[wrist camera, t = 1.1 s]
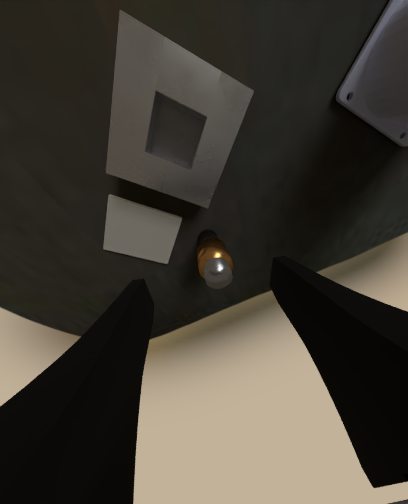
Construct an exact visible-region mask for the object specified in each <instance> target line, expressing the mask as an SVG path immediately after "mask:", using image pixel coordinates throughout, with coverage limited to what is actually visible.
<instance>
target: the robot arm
mask: <svg viewBox="0 0 408 504" xmlns="http://www.w3.org/2000/svg"><path fill="white" fill-rule="evenodd" d="M348 94H349V98H348V100H347V95H348ZM336 101H337V102H338V103H340V104H341V105H343V106H344V107H345V108H347V109H348V110H350V111H351V112H353V113H354V114H355V115H357V116H358V117H360V118H361V119H363V120H364V121H365V122H367V123H368V124H370V125H371V126H373V127H374V128H375V129H377V130H378V131H380V132H381V133H383V134H384V135H385V136H387V137H388V138H390V139H391V140H393V141H394V142H395V143H397V144H398V145H400V146H402V147H406V146H408V0H390V1H389V3H388V4H387V6H386V8H385V10H384V11H383V13H382V15H381V17H380V18H379V20H378V22H377V24H376V25H375V27H374V29H373V31H372V32H371V34H370V36H369V37H368V39H367V41H366V43H365V44H364V46H363V48H362V50H361V51H360V53H359V55H358V57H357V58H356V60H355V62H354V64H353V65H352V67H351V69H350V70H349V72H348V74H347V76H346V77H345V79H344V81H343V83H342V84H341V86H340V88H339V90H338V91H337V94H336ZM400 135H401V136H400ZM270 287H271V289H272V291H273V293H274V295H275V297H276V299H277V301H278V303H279V305H280V306H281V308H282V309H283V311H284V312H285V314H286V316H287V317H288V319H289V320H290V322H291V323H292V325H293V327H294V328H295V329H296V331H297V332H298V334H299V336H300V337H301V339H302V341H303V343H304V344H305V346H306V348H307V350H308V352H309V353H310V355H311V357H312V359H313V361H314V363H315V365H316V367H317V369H318V371H319V373H320V375H321V377H322V379H323V381H324V383H325V385H326V387H327V389H328V391H329V394H330V396H331V398H332V400H333V402H334V404H335V407H336V409H337V411H338V413H339V415H340V417H341V420H342V422H343V424H344V426H345V429H346V431H347V433H348V436H349V438H350V440H351V442H352V445H353V447H354V450H355V452H356V454H357V457H358V459H359V462H360V464H361V467H362V468H363V470H364V472H365V474H366V476H367V477H368V479H369V481H370V483H371V485H372V486H373V487H374V488H377V487H382V486H387V485H392V484H397V483H402V482H407V481H408V312H407V311H404V310H401V309H399V308H396V307H393V306H390V305H388V304H385V303H382V302H380V301H377V300H375V299H372V298H370V297H367V296H365V295H363V294H360V293H358V292H356V291H353V290H351V289H349V288H347V287H344V286H342V285H340V284H338V283H336V282H334V281H332V280H330V279H328V278H326V277H324V276H322V275H320V274H318V273H316V272H314V271H312V270H310V269H308V268H306V267H305V266H303V265H301V264H299V263H297V262H295V261H293V260H291V259H289V258H287V257H285V256H281V257H275V258H273V264H272V271H271V279H270ZM153 314H154V303H153V300H152V298H151V295H150V293H149V290H148V288H147V285H146V283H145V280H144V278H143V279H137V280H132V281H131V282H130V284H129V285H128V286H127V287H126V288H125V289H124V291H123V292H122V293H121V294H120V295H119V296H118V298H117V299H116V300H115V301H114V302H113V303H112V304H111V306H110V307H109V308H108V309H107V310H106V311H105V312H104V314H103V315H102V316H101V317H100V318H99V319H98V320H97V321H96V322H95V323H94V324H93V325H92V326H91V327H90V328H89V330H88V331H87V332H86V333H85V334H84V335H83V336H82V337H81V338H80V339H79V340H78V341H77V342H76V343H75V344H73V345H72V346H71V347H70V348H69V349H68V350H67V351H66V352H65V353H64V354H63V355H62V356H61V357H59V358H58V359H57V360H56V361H55V362H54V363H53V364H51V365H50V366H49V367H48V368H47V369H45V370H44V371H43V372H42V373H41V374H40V375H38V376H37V377H36V378H35V379H34V380H33V381H31V382H30V383H29V384H28V385H27V386H25V388H23V389H22V390H21V391H19V392H18V393H17V394H16V395H14V396H13V397H12V398H11V399H9V400H8V401H7V402H6V403H4V404H3V405H2V406H0V504H133V493H134V474H135V456H136V441H137V427H138V414H139V405H140V404H139V403H140V394H141V385H142V376H143V370H144V364H145V358H146V354H147V349H148V344H149V339H150V334H151V329H152V324H153ZM389 504H408V499H407V500H403V501H398V502H394V503H389Z"/></svg>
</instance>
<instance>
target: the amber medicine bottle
mask: <svg viewBox="0 0 408 504" xmlns="http://www.w3.org/2000/svg"><path fill="white" fill-rule="evenodd" d="M198 241H199V245H198V247H197V251H196V253H197V260H198V267H199V273H200V275H201V276H202V277H203V278H204V279H205V281H206V284H207V285H208V286H209V287H211V288H214V289H220V288H223V287H226V286H227V285H228V284H230V282H231V281H232V277H233V276H232V272H231V271H232V269H233V262H232V260H231V258H230V255H229V253H228V251H227V248H226V246H225V244H224V243H223V242H222V241H221V240H220V239H218V237H217V234H216V233H215V232H214V231H212V230H204V231H202V232H201V233H200V234H199V237H198Z"/></svg>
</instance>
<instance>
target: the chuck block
mask: <svg viewBox="0 0 408 504" xmlns="http://www.w3.org/2000/svg"><path fill="white" fill-rule="evenodd" d="M253 92H254V91H253V90H251V89H250V88H248V87H246V86H245V85H243V84H241V83H240V82H238V81H236V80H235V79H233V78H231V77H230V76H228V75H227V74H225V73H223V72H222V71H220V70H218V69H217V68H215V67H213V66H212V65H210V64H208V63H207V62H205V61H204V60H202V59H200V58H199V57H197V56H195V55H194V54H192V53H190V52H189V51H187V50H185V49H184V48H182V47H180V46H179V45H177V44H176V43H174V42H172V41H171V40H169V39H167V38H166V37H164V36H162V35H161V34H159V33H157V32H156V31H154V30H153V29H151V28H149V27H148V26H146V25H144V24H143V23H141V22H139V21H138V20H136V19H134V18H133V17H131V16H130V15H128V14H126V13H125V12H123V11H121V10H120V14H119V26H118V38H117V49H116V61H115V73H114V85H113V96H112V108H111V120H110V132H109V143H108V155H107V167H106V173H108V174H111V175H114V176H117V177H119V178H122V179H125V180H128V181H131V182H134V183H137V184H139V185H142V186H145V187H148V188H151V189H154V190H157V191H159V192H162V193H165V194H168V195H171V196H174V197H177V198H180V199H182V200H185V201H188V202H191V203H194V204H197V205H200V206H202V207H205V208H208V207H209V204H210V202H211V199H212V196H213V194H214V191H215V189H216V186H217V184H218V181H219V179H220V176H221V174H222V171H223V168H224V166H225V163H226V161H227V158H228V156H229V153H230V151H231V148H232V146H233V143H234V140H235V138H236V135H237V133H238V130H239V128H240V125H241V123H242V120H243V118H244V115H245V112H246V110H247V107H248V105H249V102H250V100H251V97H252V95H253Z"/></svg>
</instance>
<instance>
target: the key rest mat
mask: <svg viewBox="0 0 408 504" xmlns="http://www.w3.org/2000/svg"><path fill="white" fill-rule="evenodd" d="M181 221H182V217H180V216H177V215H173V214H170V213H167V212H164V211H161V210H158V209H155V208H152V207H148V206H145V205H142V204H139V203H136V202H133V201H130V200H126V199H123V198H120V197H117V196H114V195H111V194H110V195H109V196H108V206H107V216H106V227H105V237H104V247H103V249H105V250H109V251H113V252H118V253H122V254H126V255H130V256H135V257H139V258H143V259H148V260H152V261H156V262H160V263H165V264H168V261H169V258H170V255H171V252H172V248H173V245H174V242H175V239H176V236H177V233H178V230H179V227H180V224H181Z"/></svg>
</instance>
